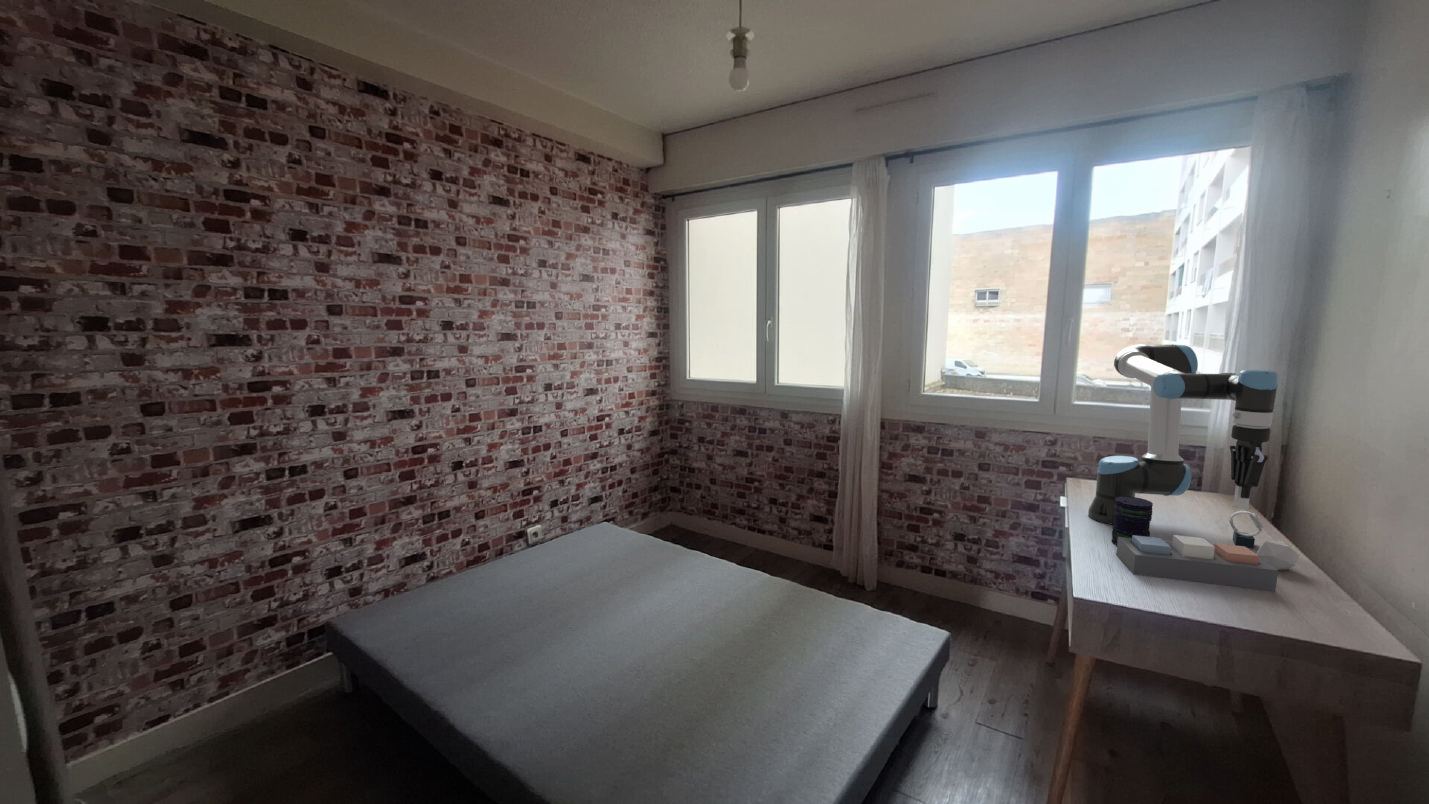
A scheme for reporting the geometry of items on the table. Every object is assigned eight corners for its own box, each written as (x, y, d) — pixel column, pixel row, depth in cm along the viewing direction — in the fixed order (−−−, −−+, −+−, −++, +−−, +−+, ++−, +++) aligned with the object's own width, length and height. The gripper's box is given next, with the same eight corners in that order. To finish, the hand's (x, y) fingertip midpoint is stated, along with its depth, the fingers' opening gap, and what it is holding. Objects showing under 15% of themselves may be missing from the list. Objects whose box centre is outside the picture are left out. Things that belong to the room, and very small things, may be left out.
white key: (1171, 550, 162) (1173, 535, 161) (1200, 553, 159) (1202, 537, 158) (1182, 560, 155) (1184, 543, 154) (1212, 563, 153) (1214, 547, 152)
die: (1275, 563, 164) (1252, 536, 166) (1311, 559, 157) (1287, 531, 158) (1267, 578, 160) (1244, 551, 162) (1303, 576, 153) (1279, 547, 154)
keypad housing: (1116, 554, 170) (1117, 536, 169) (1245, 569, 159) (1247, 550, 158) (1133, 574, 157) (1135, 554, 156) (1275, 591, 146) (1278, 570, 145)
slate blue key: (1130, 550, 165) (1132, 535, 164) (1158, 553, 163) (1160, 538, 162) (1139, 560, 159) (1141, 543, 158) (1169, 563, 156) (1170, 547, 155)
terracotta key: (1212, 559, 158) (1214, 543, 158) (1242, 562, 156) (1244, 546, 155) (1225, 569, 152) (1227, 552, 151) (1257, 573, 149) (1259, 556, 149)
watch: (1262, 549, 172) (1266, 516, 171) (1227, 543, 177) (1231, 511, 176) (1258, 544, 177) (1263, 511, 175) (1225, 538, 182) (1229, 507, 180)
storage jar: (1133, 538, 182) (1137, 496, 180) (1156, 550, 173) (1161, 505, 170) (1103, 538, 182) (1107, 496, 180) (1125, 550, 173) (1129, 505, 171)
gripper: (1221, 421, 156) (1211, 499, 159) (1248, 429, 144) (1236, 514, 147) (1254, 422, 153) (1244, 502, 157) (1284, 431, 141) (1272, 517, 145)
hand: (1240, 507), depth 152 cm, fingers closed
